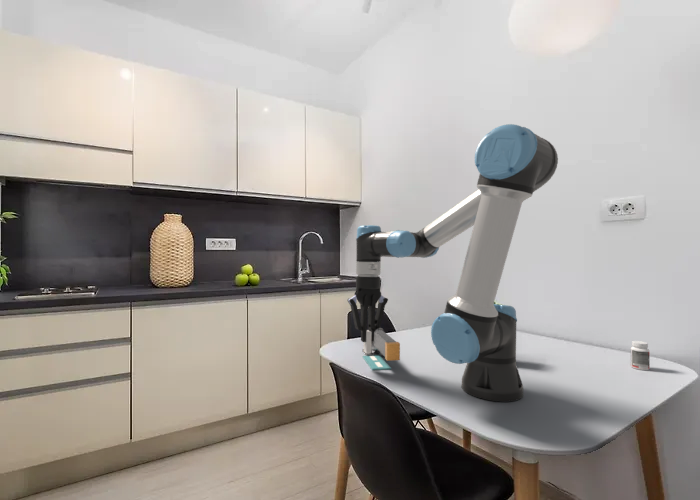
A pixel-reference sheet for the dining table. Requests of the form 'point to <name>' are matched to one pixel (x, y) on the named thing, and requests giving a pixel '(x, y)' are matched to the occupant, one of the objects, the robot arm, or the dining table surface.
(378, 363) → the label
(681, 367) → the dining table surface
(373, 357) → the label
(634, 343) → the pill bottle
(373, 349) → the grey square stand
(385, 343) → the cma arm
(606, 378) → the dining table surface
